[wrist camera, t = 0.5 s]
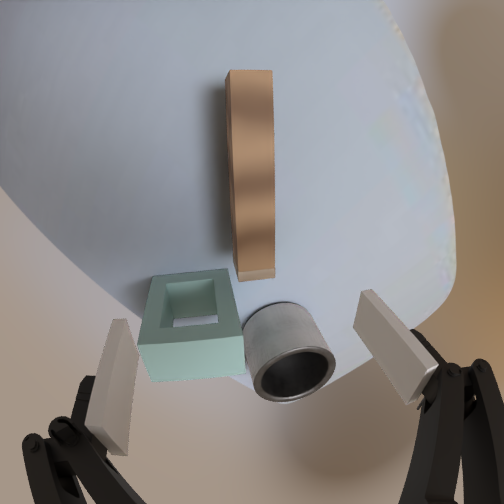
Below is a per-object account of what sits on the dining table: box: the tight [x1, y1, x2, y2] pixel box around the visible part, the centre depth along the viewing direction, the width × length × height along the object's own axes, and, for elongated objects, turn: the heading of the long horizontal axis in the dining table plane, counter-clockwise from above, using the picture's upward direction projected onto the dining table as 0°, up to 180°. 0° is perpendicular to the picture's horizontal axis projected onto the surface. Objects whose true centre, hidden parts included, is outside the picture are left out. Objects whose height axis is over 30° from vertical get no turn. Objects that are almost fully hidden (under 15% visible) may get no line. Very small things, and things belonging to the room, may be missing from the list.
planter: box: [242, 303, 336, 402], centre depth 42 cm, size 13×13×11 cm
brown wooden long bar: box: [225, 70, 275, 282], centre depth 29 cm, size 22×4×5 cm, turn 2°
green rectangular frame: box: [137, 269, 246, 382], centre depth 34 cm, size 6×11×14 cm, turn 92°
